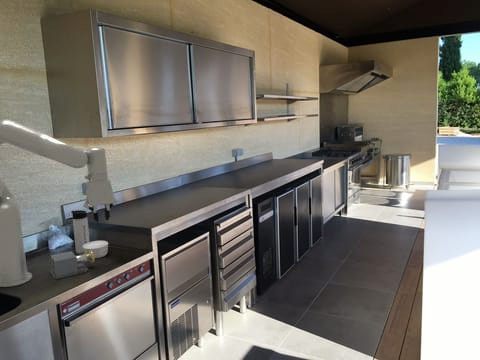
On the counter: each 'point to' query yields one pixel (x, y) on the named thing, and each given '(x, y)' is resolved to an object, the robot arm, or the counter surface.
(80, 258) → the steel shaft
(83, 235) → the travel mug
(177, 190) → the counter surface
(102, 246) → the ramekin
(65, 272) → the bearing housing
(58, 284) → the counter surface
